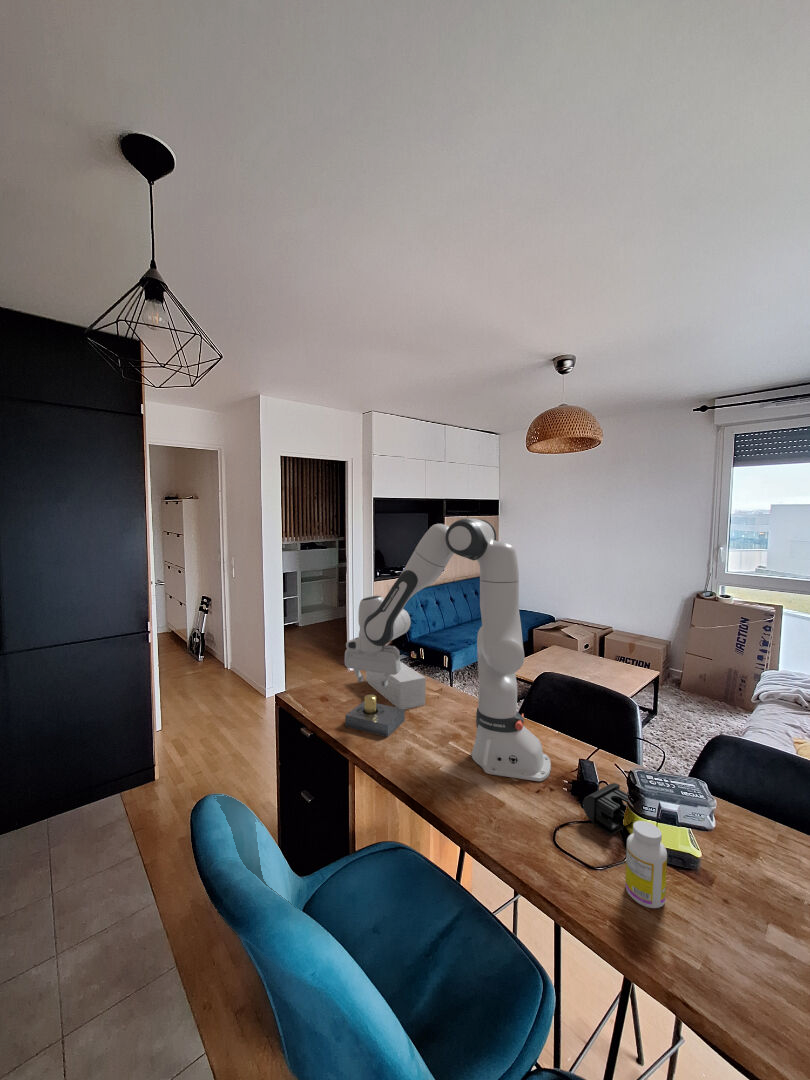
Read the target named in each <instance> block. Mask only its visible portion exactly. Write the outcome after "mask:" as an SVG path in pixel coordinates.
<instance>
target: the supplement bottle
mask: <svg viewBox="0 0 810 1080" xmlns="http://www.w3.org/2000/svg"><path fill="white" fill-rule="evenodd" d="M662 835H663V833H662V831H661V829H660V828H659V827H658V826H656V825H654V824H653V823H651V822H649V821H645V820H637V821H635V822H633V825H632V833H631V834H629V835H628V836H627V838H626V854H625V855H626V856H625V859H626V862H625V889H626V892H627V894H628V895H629V896H630V898H632V900H634V901H635V902H636V903H638V904H639V905H641V906H643V907H645V908H649V909H659V908H661V907H663V906H664V904H665V903H666V897H667V896H666V895H667V892H666V891H667V869H668V868H667V867H668V865H667V863H668V852H667V848H666V847H665V845H664V844H663V842H662V839H663V838H662Z"/></svg>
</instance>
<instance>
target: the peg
mask: <svg viewBox="0 0 810 1080" xmlns="http://www.w3.org/2000/svg"><path fill="white" fill-rule="evenodd" d="M364 701H365V714H368V715H373V714H376V703H377V695H375V694H367V695H365V696H364Z"/></svg>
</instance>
